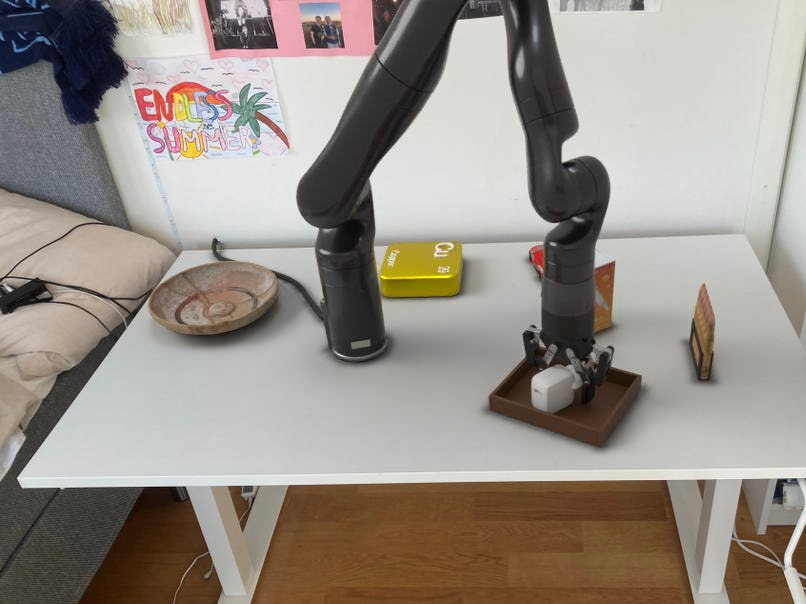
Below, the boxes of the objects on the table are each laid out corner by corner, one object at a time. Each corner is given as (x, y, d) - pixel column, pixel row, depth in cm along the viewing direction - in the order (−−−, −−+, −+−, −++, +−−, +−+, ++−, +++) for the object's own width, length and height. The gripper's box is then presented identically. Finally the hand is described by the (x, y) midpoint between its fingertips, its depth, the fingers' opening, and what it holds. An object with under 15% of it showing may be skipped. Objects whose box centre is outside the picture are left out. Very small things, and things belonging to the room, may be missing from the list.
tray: (489, 410, 118) (488, 395, 117) (536, 359, 129) (536, 344, 127) (600, 447, 110) (601, 432, 108) (640, 389, 120) (642, 375, 119)
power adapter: (581, 377, 123) (583, 346, 120) (603, 391, 120) (605, 360, 117) (527, 405, 118) (527, 374, 115) (548, 421, 115) (549, 389, 112)
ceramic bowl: (137, 352, 136) (128, 328, 133) (175, 286, 155) (168, 263, 152) (270, 344, 136) (264, 320, 133) (292, 279, 155) (287, 256, 152)
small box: (576, 342, 132) (578, 274, 125) (553, 326, 136) (553, 259, 129) (612, 326, 136) (616, 259, 128) (588, 311, 140) (591, 245, 133)
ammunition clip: (688, 342, 130) (697, 279, 124) (700, 342, 130) (709, 279, 123) (697, 380, 122) (707, 315, 115) (710, 381, 121) (720, 315, 115)
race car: (526, 255, 159) (526, 237, 157) (552, 252, 159) (552, 234, 157) (541, 286, 148) (541, 267, 146) (569, 283, 149) (569, 264, 146)
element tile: (390, 261, 160) (387, 239, 157) (463, 259, 159) (462, 237, 156) (380, 298, 147) (377, 276, 145) (459, 296, 146) (457, 274, 144)
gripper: (626, 299, 109) (620, 395, 118) (535, 277, 115) (536, 370, 125) (605, 325, 103) (600, 423, 113) (510, 300, 110) (513, 395, 119)
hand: (566, 395), depth 119 cm, fingers closed on power adapter, 6 cm apart
